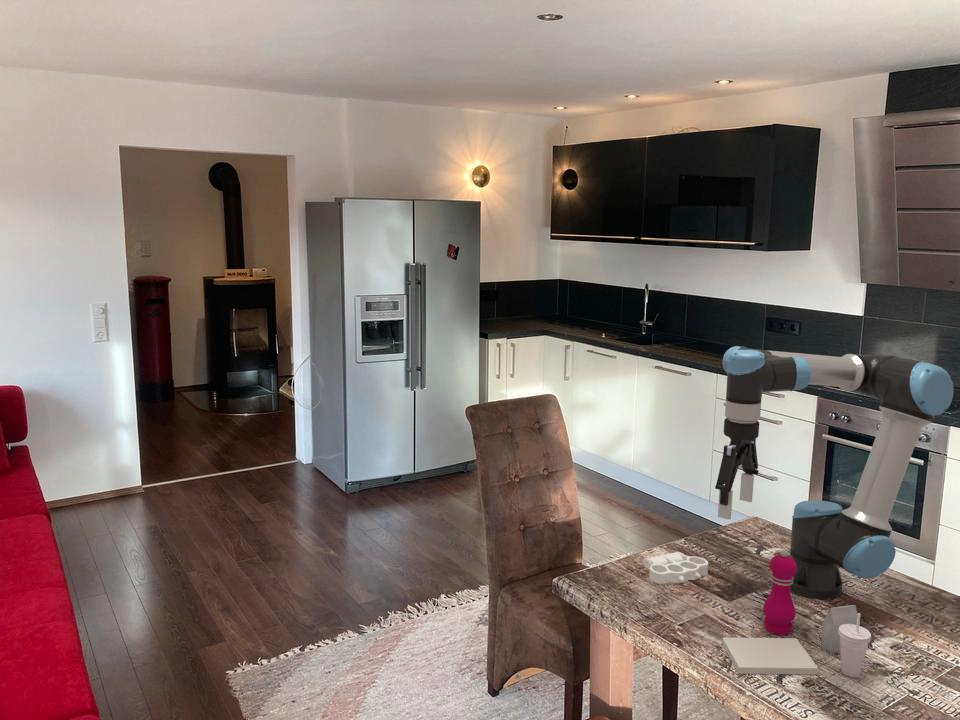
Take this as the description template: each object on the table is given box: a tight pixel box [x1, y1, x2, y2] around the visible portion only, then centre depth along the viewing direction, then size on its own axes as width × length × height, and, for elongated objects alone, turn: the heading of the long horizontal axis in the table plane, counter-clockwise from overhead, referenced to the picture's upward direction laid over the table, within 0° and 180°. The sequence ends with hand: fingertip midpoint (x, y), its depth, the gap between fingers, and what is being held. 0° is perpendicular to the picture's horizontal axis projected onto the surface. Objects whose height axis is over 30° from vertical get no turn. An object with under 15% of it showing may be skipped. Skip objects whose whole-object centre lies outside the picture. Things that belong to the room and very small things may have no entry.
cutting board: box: [721, 637, 819, 676], centre depth 173 cm, size 17×12×2 cm
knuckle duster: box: [641, 551, 709, 585], centre depth 215 cm, size 3×18×15 cm
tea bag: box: [820, 604, 860, 654], centre depth 177 cm, size 4×7×10 cm, turn 104°
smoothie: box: [838, 612, 872, 678], centre depth 167 cm, size 6×6×14 cm
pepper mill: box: [762, 549, 797, 636], centre depth 184 cm, size 7×7×20 cm
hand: (735, 509), depth 178 cm, fingers open, 13 cm apart
